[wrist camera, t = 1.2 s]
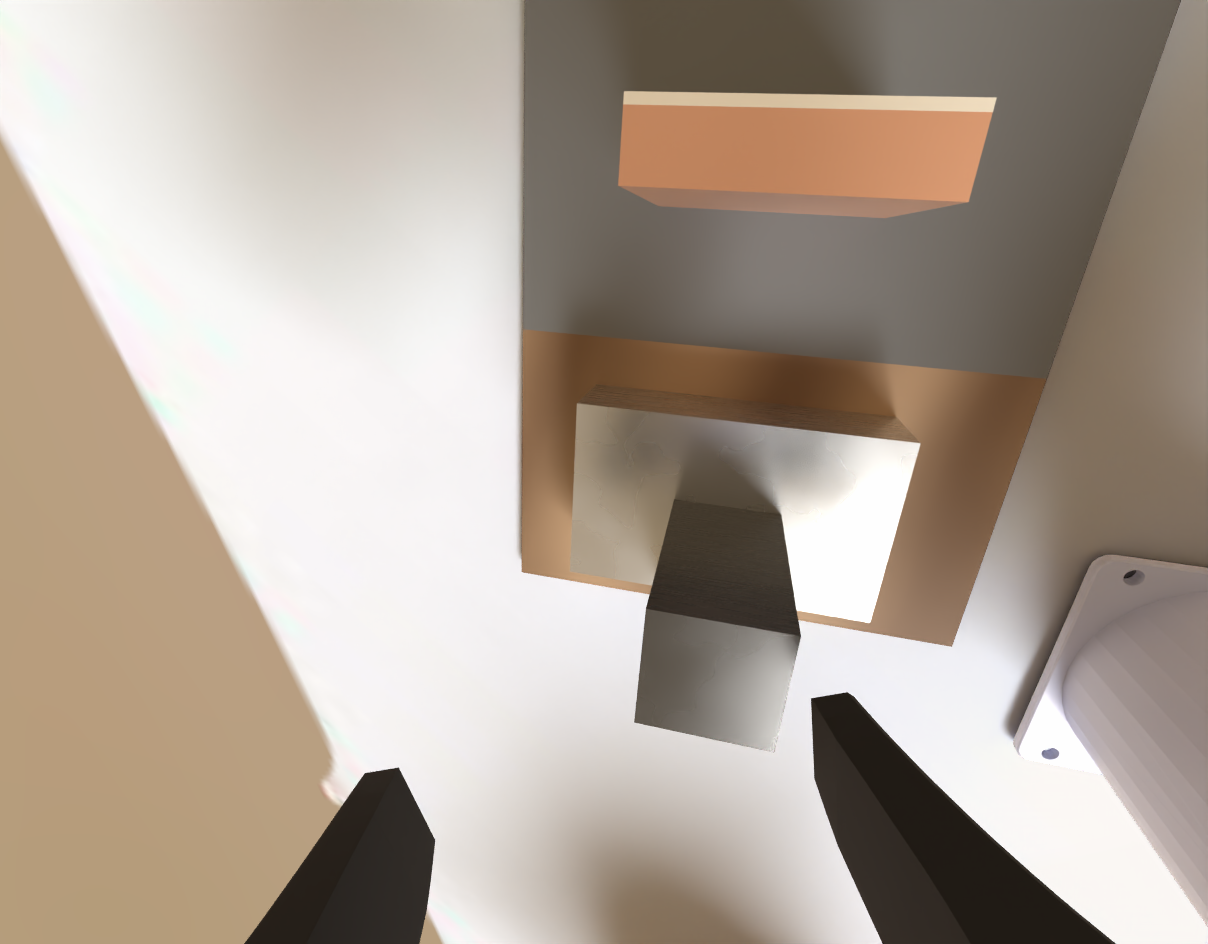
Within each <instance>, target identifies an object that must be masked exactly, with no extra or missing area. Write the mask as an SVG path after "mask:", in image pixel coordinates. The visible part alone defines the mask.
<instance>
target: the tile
mask: <svg viewBox="0 0 1208 944" xmlns="http://www.w3.org/2000/svg"><path fill="white" fill-rule="evenodd" d="M996 99H997V97H938V96H880V95H821V94H762V93H704V92H645V91H624V99H623V115H622V131H621V148H620V164H619V180H618V186H620V187H622V188H624V189H626V190H628V191H630V192H632V193H633V194H635V195H637V196H639V197H641V198H643V199H645V200H647V201H649V202H651V203H653V204H655V205H657V206H662V207H681V208H700V209H719V210H738V211H757V212H776V213H795V214H814V215H833V216H852V217H871V218H889V217H894V216H899V215H905V214H910V213H915V212H920V211H925V210H930V209H936V208H941V207H946V206H951V205H956V204H961V203H967V202H969V198H970V195H971V191H972V187H973V184H974V180H975V176H976V173H977V169H978V165H979V161H980V158H981V154H982V150H983V147H984V143H985V139H986V136H987V132H988V128H989V124H990V121H991V117H992V113H993V110H994V106H995V102H996Z"/></svg>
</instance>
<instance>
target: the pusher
mask: <svg viewBox="0 0 1208 944" xmlns="http://www.w3.org/2000/svg"><path fill="white" fill-rule="evenodd" d="M920 444H921V443H920V442H919V441H918V440H917V439H916V438H915V437H914V436H913V435H912V433H911V432H910V431H909V430H908V429H907V428H906V427H905V426H904V425H903V424H902V423H901V422H900V420H899V419H898V418H897V417H894V416H885V415H876V414H866V413H857V412H848V411H839V410H830V409H821V408H812V407H803V406H793V405H784V404H775V403H766V402H757V401H748V400H739V399H730V398H720V397H711V396H702V395H693V394H684V393H675V392H666V391H657V390H648V389H638V388H629V387H620V386H611V385H602V384H596V385H595V386H594V387H593V388H592V389H591V390H590V391H589V392H588V393H587V394H586V395H585V396H584V397H583V398H582V399H581V400H580V401H579V402H578V403H577V414H576V437H575V461H574V485H573V508H572V532H571V556H570V572H575V573H581V574H587V575H593V576H599V577H605V578H611V579H616V580H622V581H628V582H634V583H640V584H646V585H652V588H651V592H650V596H649V599H648V603H647V607H646V615H645V624H644V634H643V644H642V653H641V663H640V673H639V682H638V692H637V702H636V711H635V721H634V722H635V723H640V724H644V725H649V726H654V727H658V728H663V729H668V730H672V731H677V732H682V733H686V734H691V735H696V736H700V737H705V738H710V739H714V740H719V741H724V742H728V743H733V744H738V745H742V746H747V747H752V748H756V749H761V750H766V751H770V752H774V751H775V746H776V742H777V738H778V733H779V729H780V725H781V720H782V716H783V712H784V707H785V703H786V699H787V694H788V690H789V686H790V681H791V677H792V672H793V668H794V664H795V659H796V655H797V651H798V646H799V642H800V638H801V634H800V628H799V622H798V616H797V610H798V611H804V612H810V613H816V614H822V615H828V616H834V617H839V618H845V619H851V620H857V621H863V622H869V623H870V621H871V617H872V614H873V610H874V607H875V603H876V600H877V596H878V593H879V589H880V585H881V582H882V578H883V575H884V571H885V568H886V564H887V561H888V557H889V554H890V550H891V547H892V543H893V539H894V536H895V532H896V529H897V525H898V522H899V518H900V515H901V511H902V508H903V504H904V501H905V497H906V494H907V490H908V486H909V483H910V479H911V476H912V472H913V469H914V465H915V462H916V458H917V455H918V451H919V448H920Z"/></svg>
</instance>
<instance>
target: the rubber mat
mask: <svg viewBox="0 0 1208 944" xmlns="http://www.w3.org/2000/svg"><path fill="white" fill-rule="evenodd" d="M1180 2H1181V0H525V58H524V244H523V329H525V330H536V331H547V332H557V333H568V334H578V335H589V336H599V337H610V338H621V339H631V340H642V341H652V342H663V343H673V344H684V345H695V346H705V347H716V348H726V349H737V350H747V351H758V352H769V353H779V354H790V355H800V356H811V357H821V358H832V359H843V360H853V361H864V362H874V363H885V364H895V365H906V366H917V367H927V368H938V369H948V370H959V371H969V372H980V373H991V374H1001V375H1012V376H1022V377H1033V378H1043V379H1047V377H1048V374H1049V371H1050V368H1051V366H1052V363H1053V360H1054V357H1055V354H1056V351H1057V349H1058V346H1059V343H1060V340H1061V337H1062V335H1063V332H1064V329H1065V326H1066V323H1067V320H1068V318H1069V315H1070V312H1071V309H1072V306H1073V304H1074V301H1075V298H1076V295H1077V292H1078V289H1079V287H1080V284H1081V281H1082V278H1083V275H1084V273H1085V270H1086V267H1087V264H1088V261H1089V258H1090V256H1091V253H1092V250H1093V247H1094V244H1095V242H1096V239H1097V236H1098V233H1099V230H1100V227H1101V225H1102V222H1103V219H1104V216H1105V213H1106V211H1107V208H1108V205H1109V202H1110V199H1111V196H1112V194H1113V191H1114V188H1115V185H1116V182H1117V179H1118V177H1119V174H1120V171H1121V168H1122V165H1123V163H1124V160H1125V157H1126V154H1127V151H1128V148H1129V146H1130V143H1131V140H1132V137H1133V134H1134V132H1135V129H1136V126H1137V123H1138V120H1139V117H1140V115H1141V112H1142V109H1143V106H1144V103H1145V101H1146V98H1147V95H1148V92H1149V89H1150V86H1151V84H1152V81H1153V78H1154V75H1155V72H1156V70H1157V67H1158V64H1159V61H1160V58H1161V55H1162V53H1163V50H1164V47H1165V44H1166V41H1167V39H1168V36H1169V33H1170V30H1171V27H1172V24H1173V22H1174V19H1175V16H1176V13H1177V10H1178V8H1179V5H1180ZM624 91H645V92H704V93H762V94H821V95H880V96H938V97H997V99H996V102H995V106H994V110H993V113H992V117H991V121H990V124H989V128H988V132H987V136H986V139H985V143H984V147H983V150H982V154H981V158H980V161H979V165H978V169H977V173H976V176H975V180H974V184H973V187H972V191H971V195H970V198H969V202H967V203H961V204H956V205H951V206H946V207H941V208H936V209H930V210H925V211H920V212H915V213H910V214H905V215H899V216H894V217H889V218H871V217H852V216H833V215H814V214H795V213H776V212H757V211H738V210H719V209H700V208H681V207H662V206H657V205H655V204H653V203H651V202H649V201H647V200H645V199H643V198H641V197H639V196H637V195H635V194H633V193H632V192H630V191H628V190H626V189H624V188H622V187H620V186H618V180H619V164H620V148H621V131H622V115H623V99H624Z"/></svg>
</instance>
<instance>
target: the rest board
mask: <svg viewBox="0 0 1208 944" xmlns="http://www.w3.org/2000/svg"><path fill="white" fill-rule="evenodd" d="M1046 380H1047V379H1043V378H1033V377H1022V376H1012V375H1001V374H991V373H980V372H969V371H959V370H948V369H938V368H927V367H917V366H906V365H895V364H885V363H874V362H864V361H853V360H843V359H832V358H821V357H811V356H800V355H790V354H779V353H769V352H758V351H747V350H737V349H726V348H716V347H705V346H695V345H684V344H673V343H663V342H652V341H642V340H631V339H621V338H610V337H599V336H589V335H578V334H568V333H557V332H547V331H536V330H525V329H523V430H522V572H524V573H530V574H536V575H541V576H547V577H553V578H559V579H565V580H570V581H576V582H582V583H588V584H593V585H599V586H605V587H611V588H617V589H622V590H628V591H634V592H640V593H645V594H650V592H651V588H652V585H646V584H640V583H634V582H628V581H622V580H616V579H611V578H605V577H599V576H593V575H587V574H581V573H575V572H570V556H571V532H572V508H573V485H574V461H575V437H576V414H577V403H578V402H579V401H580V400H581V399H582V398H583V397H584V396H585V395H586V394H587V393H588V392H589V391H590V390H591V389H592V388H593V387H594V386H595V385H596V384H602V385H611V386H620V387H629V388H638V389H648V390H657V391H666V392H675V393H684V394H693V395H702V396H711V397H720V398H730V399H739V400H748V401H757V402H766V403H775V404H784V405H793V406H803V407H812V408H821V409H830V410H839V411H848V412H857V413H866V414H876V415H885V416H894V417H897V418H898V419H899V420H900V422H901V423H902V424H903V425H904V426H905V427H906V428H907V429H908V430H909V431H910V432H911V433H912V435H913V436H914V437H915V438H916V439H917V440H918V441H919V442H920V443H921V444H920V448H919V451H918V455H917V458H916V462H915V465H914V469H913V472H912V476H911V479H910V483H909V486H908V490H907V494H906V497H905V501H904V504H903V508H902V511H901V515H900V518H899V522H898V525H897V529H896V532H895V536H894V539H893V543H892V547H891V550H890V554H889V557H888V561H887V564H886V568H885V571H884V575H883V578H882V582H881V585H880V589H879V593H878V596H877V600H876V603H875V607H874V610H873V614H872V617H871V621H870V623H869V622H863V621H857V620H851V619H845V618H839V617H834V616H828V615H822V614H816V613H810V612H804V611H798V610H797V616H798V620H801V621H807V622H813V623H819V624H824V625H830V626H836V627H842V628H848V629H853V630H859V631H865V632H871V633H876V634H882V635H888V636H894V637H899V638H905V639H911V640H917V641H923V642H928V643H934V644H940V645H946V646H951V647H952V645H953V642H954V639H955V636H956V633H957V631H958V628H959V625H960V622H961V619H962V616H963V614H964V611H965V608H966V605H967V602H968V600H969V597H970V594H971V591H972V588H973V585H974V583H975V580H976V577H977V574H978V571H979V569H980V566H981V563H982V560H983V557H984V554H985V552H986V549H987V546H988V543H989V540H990V538H991V535H992V532H993V529H994V526H995V523H996V521H997V518H998V515H999V512H1000V509H1001V506H1002V504H1003V501H1004V498H1005V495H1006V492H1007V490H1008V487H1009V484H1010V481H1011V478H1012V475H1013V473H1014V470H1015V467H1016V464H1017V461H1018V459H1019V456H1020V453H1021V450H1022V447H1023V444H1024V442H1025V439H1026V436H1027V433H1028V430H1029V428H1030V425H1031V422H1032V419H1033V416H1034V413H1035V411H1036V408H1037V405H1038V402H1039V399H1040V397H1041V394H1042V391H1043V388H1044V385H1045V382H1046Z"/></svg>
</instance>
